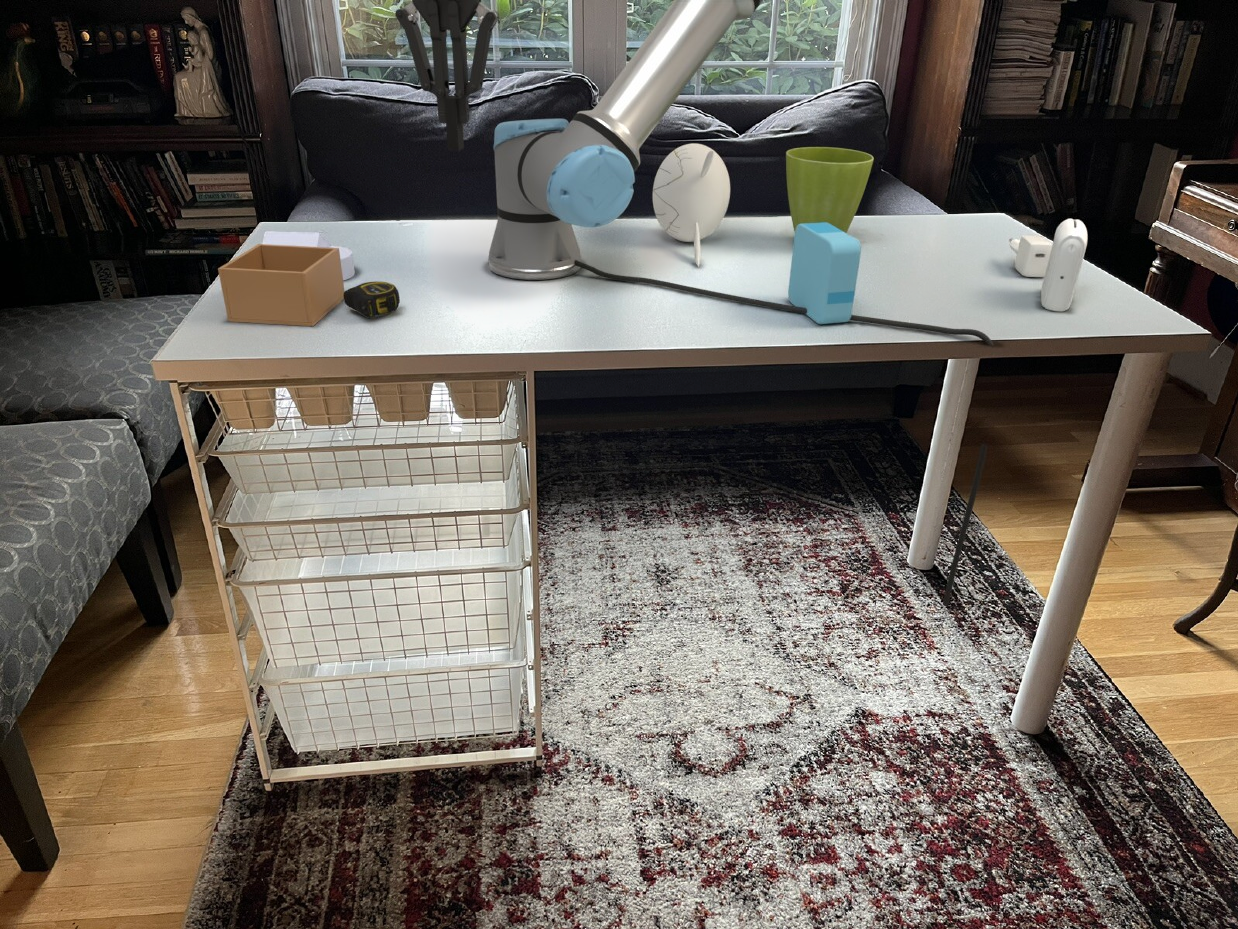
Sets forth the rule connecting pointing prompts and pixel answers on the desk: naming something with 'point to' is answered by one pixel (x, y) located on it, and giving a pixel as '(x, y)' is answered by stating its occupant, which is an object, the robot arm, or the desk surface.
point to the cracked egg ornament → (691, 194)
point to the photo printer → (1064, 265)
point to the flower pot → (826, 184)
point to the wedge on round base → (311, 241)
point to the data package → (824, 272)
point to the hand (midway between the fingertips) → (456, 148)
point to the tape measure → (372, 298)
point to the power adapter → (1031, 255)
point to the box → (282, 284)
